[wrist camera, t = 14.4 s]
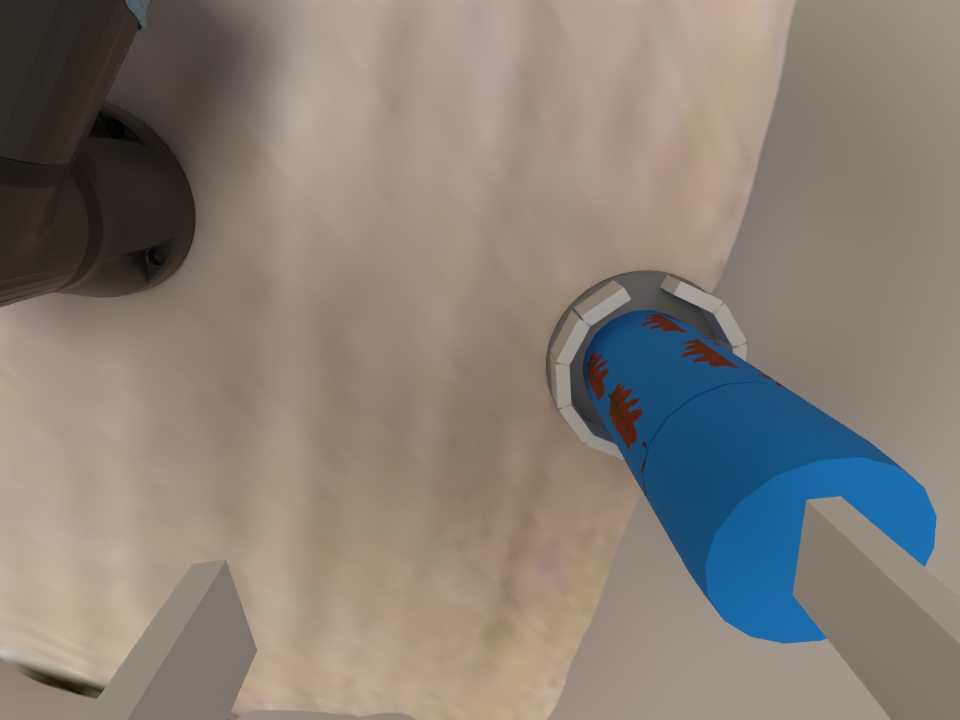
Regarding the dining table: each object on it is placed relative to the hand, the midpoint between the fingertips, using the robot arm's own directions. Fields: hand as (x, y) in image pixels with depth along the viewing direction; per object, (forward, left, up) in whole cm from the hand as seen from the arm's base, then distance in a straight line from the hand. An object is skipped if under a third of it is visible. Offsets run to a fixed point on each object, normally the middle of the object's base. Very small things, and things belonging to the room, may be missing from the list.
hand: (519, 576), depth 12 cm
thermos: (+14, -9, -34) cm, 38 cm away
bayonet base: (+14, -9, -35) cm, 38 cm away
